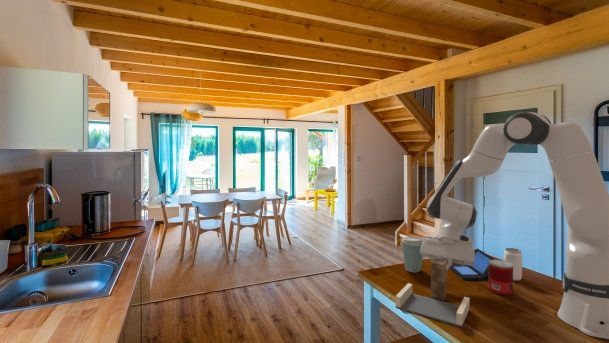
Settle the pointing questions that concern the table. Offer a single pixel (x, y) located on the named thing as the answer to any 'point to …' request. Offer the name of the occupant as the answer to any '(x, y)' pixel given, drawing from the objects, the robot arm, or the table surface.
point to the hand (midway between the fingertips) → (443, 269)
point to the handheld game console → (474, 267)
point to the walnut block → (438, 278)
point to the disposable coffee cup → (412, 253)
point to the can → (514, 261)
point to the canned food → (500, 277)
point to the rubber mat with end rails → (432, 307)
